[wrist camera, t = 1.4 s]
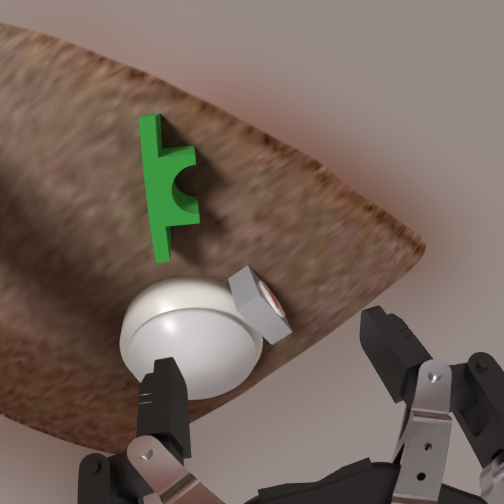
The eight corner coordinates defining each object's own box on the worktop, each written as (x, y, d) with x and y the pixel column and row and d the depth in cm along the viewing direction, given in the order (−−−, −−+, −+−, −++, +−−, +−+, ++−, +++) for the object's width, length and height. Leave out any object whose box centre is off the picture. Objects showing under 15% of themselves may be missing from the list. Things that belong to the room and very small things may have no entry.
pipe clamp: (199, 234, 28) (202, 259, 25) (159, 238, 28) (156, 263, 24) (192, 109, 23) (193, 112, 19) (146, 114, 22) (138, 117, 18)
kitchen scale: (184, 390, 38) (187, 421, 34) (96, 326, 30) (87, 358, 26) (300, 322, 36) (315, 351, 32) (224, 229, 28) (232, 255, 24)
